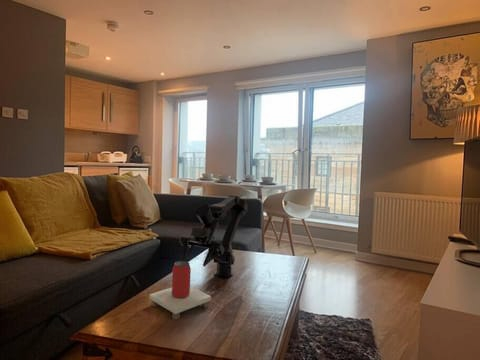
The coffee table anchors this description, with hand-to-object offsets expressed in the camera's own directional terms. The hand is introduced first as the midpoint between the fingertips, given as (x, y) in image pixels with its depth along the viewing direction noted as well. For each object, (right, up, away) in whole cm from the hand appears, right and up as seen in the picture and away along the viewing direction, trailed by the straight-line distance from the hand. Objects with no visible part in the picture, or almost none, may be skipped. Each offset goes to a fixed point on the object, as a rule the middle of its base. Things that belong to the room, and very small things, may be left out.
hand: (193, 264), depth 128 cm
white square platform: (-4, -14, -7) cm, 16 cm away
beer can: (-4, -10, -7) cm, 13 cm away
